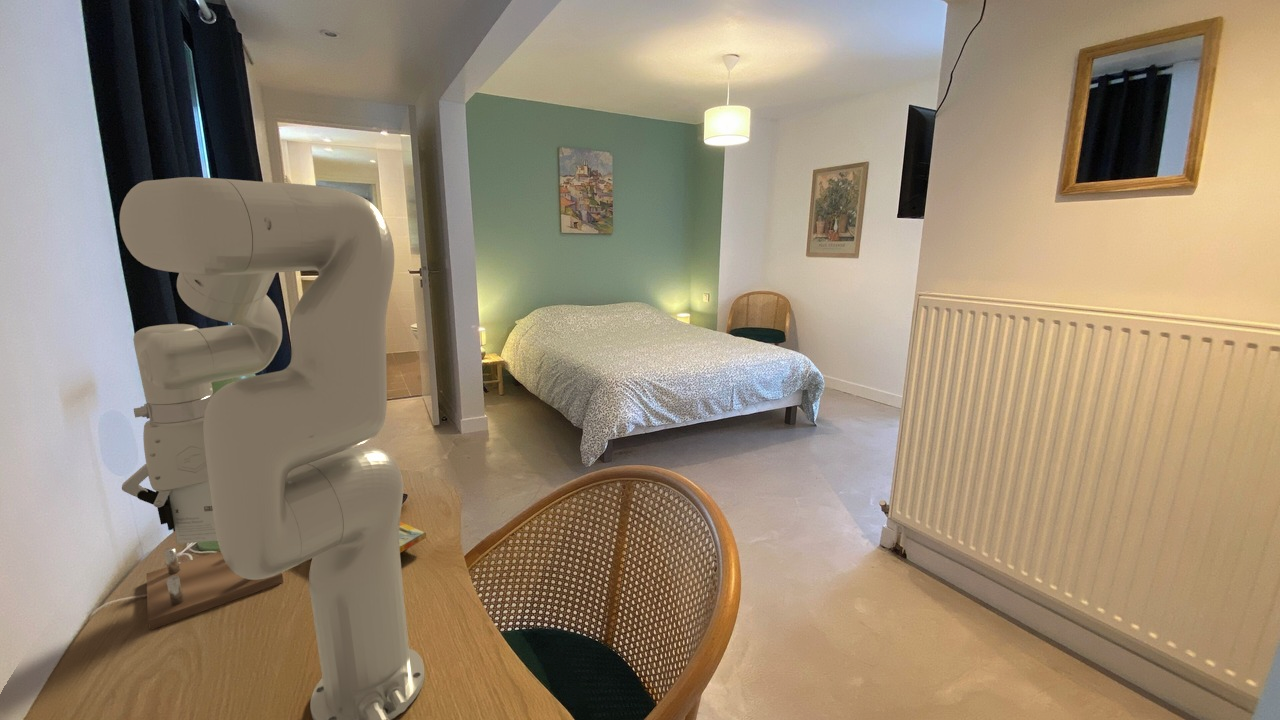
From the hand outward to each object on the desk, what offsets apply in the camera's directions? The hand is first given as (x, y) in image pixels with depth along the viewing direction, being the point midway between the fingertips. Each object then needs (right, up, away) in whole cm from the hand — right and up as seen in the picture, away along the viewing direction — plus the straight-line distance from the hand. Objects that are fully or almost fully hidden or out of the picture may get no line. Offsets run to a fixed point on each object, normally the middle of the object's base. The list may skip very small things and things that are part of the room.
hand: (203, 516), depth 83 cm
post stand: (0, -11, +3) cm, 12 cm away
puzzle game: (+18, -10, +12) cm, 24 cm away
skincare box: (0, -3, +1) cm, 3 cm away
